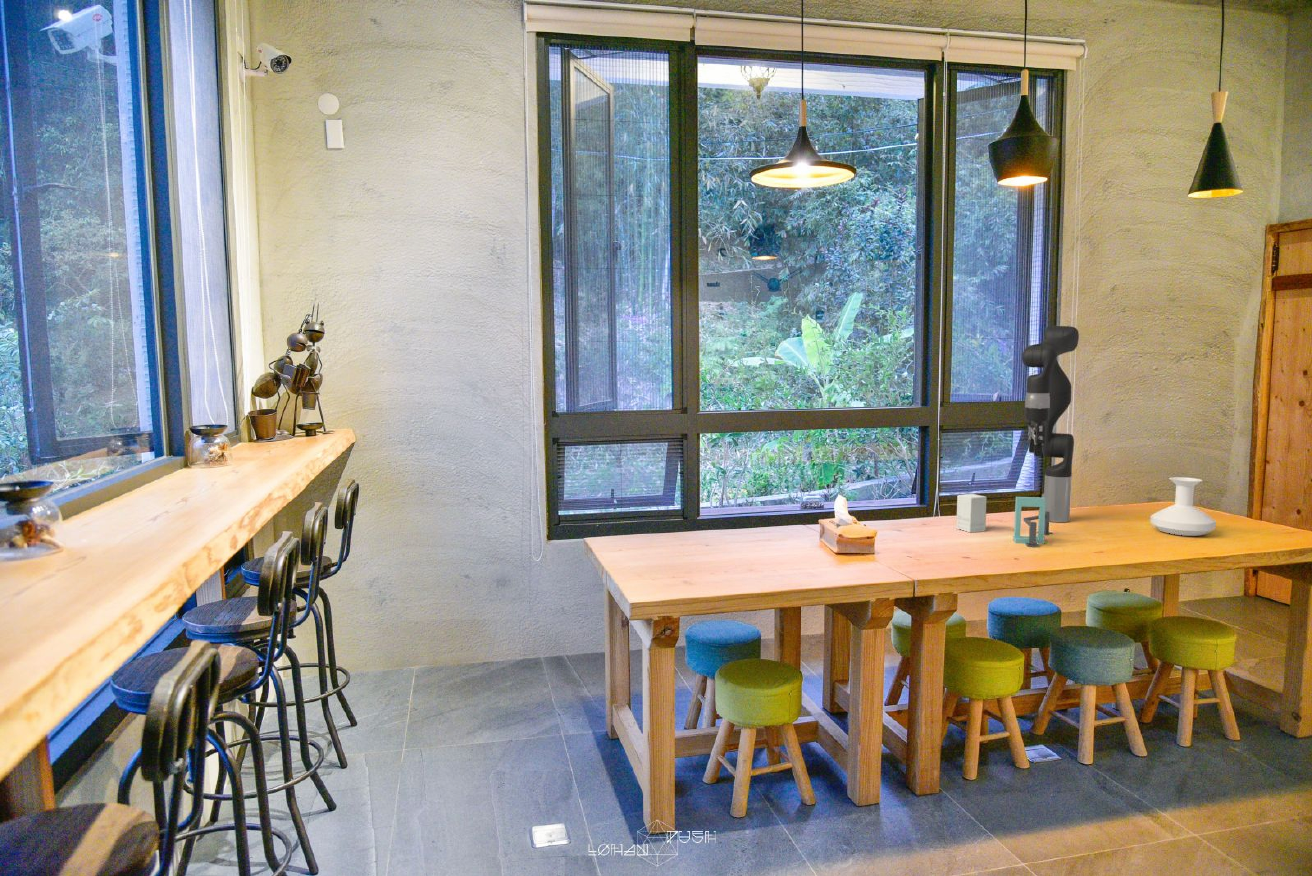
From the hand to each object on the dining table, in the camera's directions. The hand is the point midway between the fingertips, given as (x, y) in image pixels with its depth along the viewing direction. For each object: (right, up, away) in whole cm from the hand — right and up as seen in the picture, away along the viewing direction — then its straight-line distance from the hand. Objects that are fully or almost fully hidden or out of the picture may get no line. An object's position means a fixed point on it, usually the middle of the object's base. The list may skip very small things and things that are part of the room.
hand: (1035, 454), depth 296 cm
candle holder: (+60, -29, +17) cm, 68 cm away
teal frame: (-1, -30, +3) cm, 30 cm away
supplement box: (-14, -28, +22) cm, 38 cm away
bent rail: (+4, -30, +6) cm, 30 cm away
